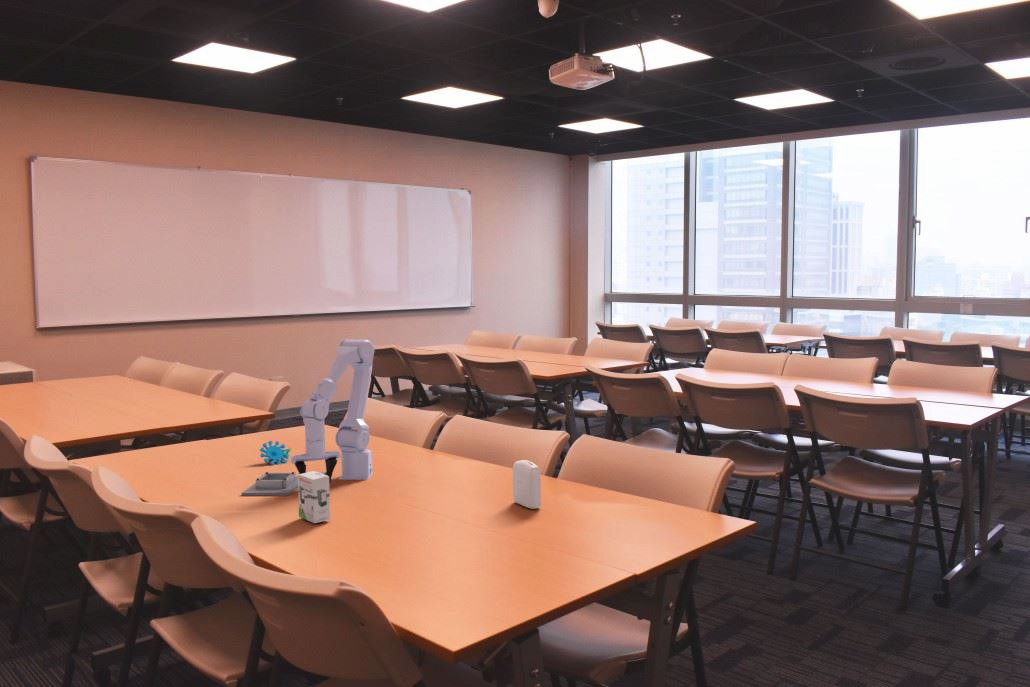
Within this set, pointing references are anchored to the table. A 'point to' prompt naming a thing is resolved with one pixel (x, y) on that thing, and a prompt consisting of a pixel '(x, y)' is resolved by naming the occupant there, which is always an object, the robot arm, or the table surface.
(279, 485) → the tray
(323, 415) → the robot arm
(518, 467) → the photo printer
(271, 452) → the blue spiky round piece
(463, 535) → the table surface
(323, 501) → the ink box
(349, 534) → the table surface
